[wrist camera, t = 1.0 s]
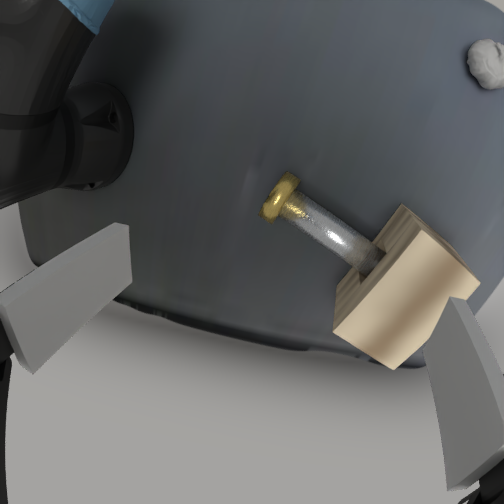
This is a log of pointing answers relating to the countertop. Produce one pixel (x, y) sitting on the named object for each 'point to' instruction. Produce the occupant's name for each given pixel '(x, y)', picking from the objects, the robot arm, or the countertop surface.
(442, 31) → the countertop surface
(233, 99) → the countertop surface
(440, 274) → the bore block
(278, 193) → the pin
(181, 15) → the countertop surface
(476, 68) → the garlic
